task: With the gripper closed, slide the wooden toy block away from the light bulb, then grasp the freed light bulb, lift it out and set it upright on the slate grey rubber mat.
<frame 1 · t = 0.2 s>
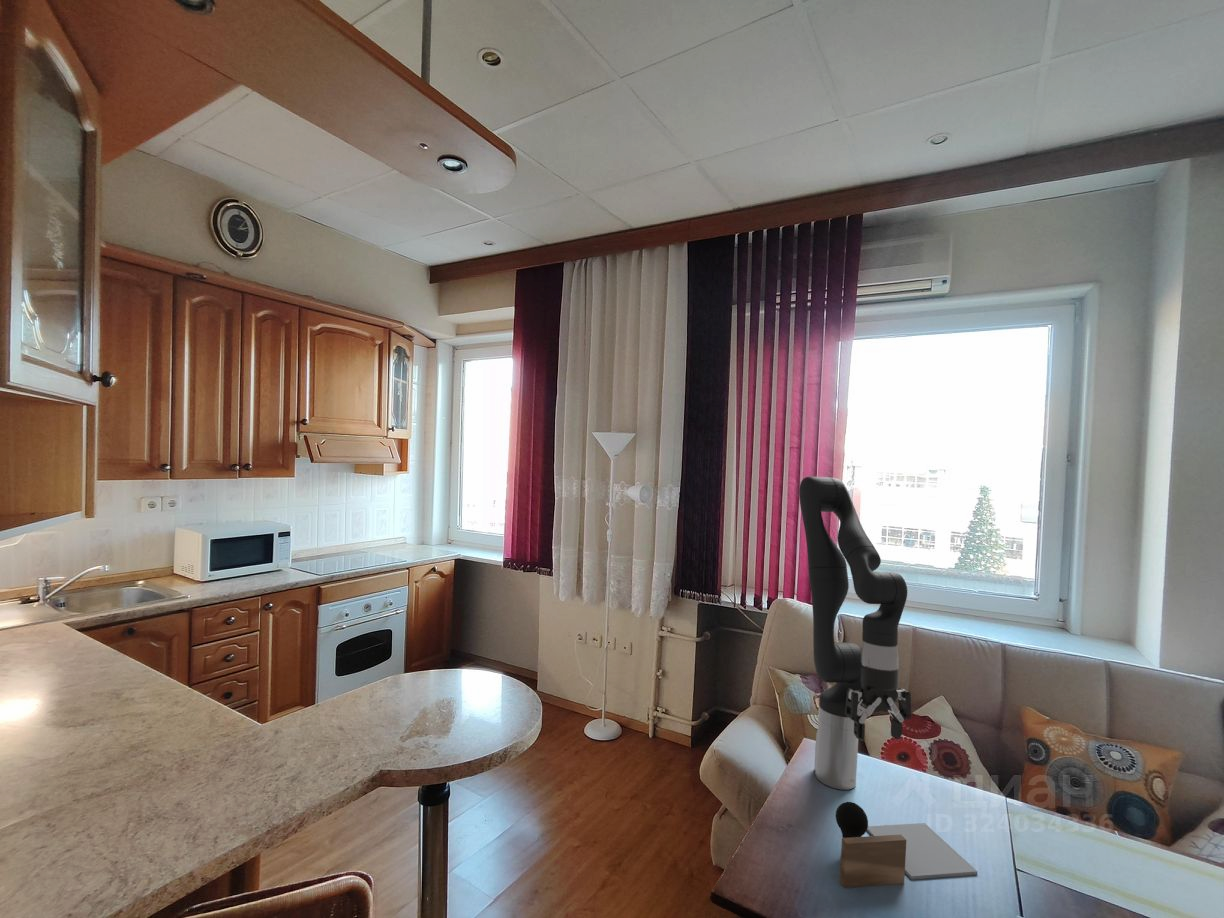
hand: (877, 738, 121), 17 cm above the table, tool pointing down, fingers open, 8 cm apart
light bulb: (849, 856, 109), on the table
rubber mat: (918, 850, 111), on the table
wooden toy block: (873, 860, 102), point 4 cm above the table, slide at 0.0 cm
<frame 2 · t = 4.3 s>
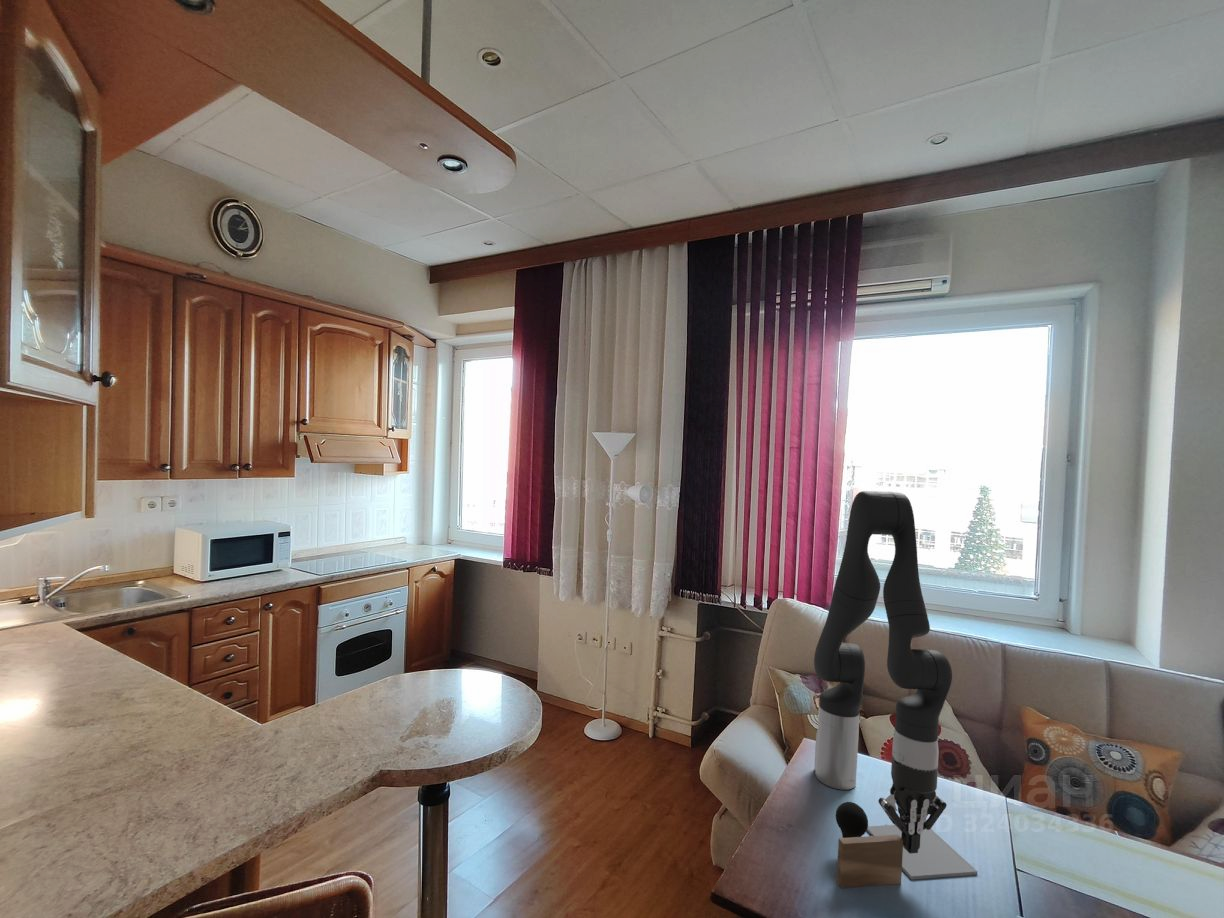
hand: (910, 850, 103), 6 cm above the table, tool pointing down, fingers closed
wooden toy block: (869, 860, 102), point 4 cm above the table, slide at 0.7 cm, touching gripper
everything else where it was.
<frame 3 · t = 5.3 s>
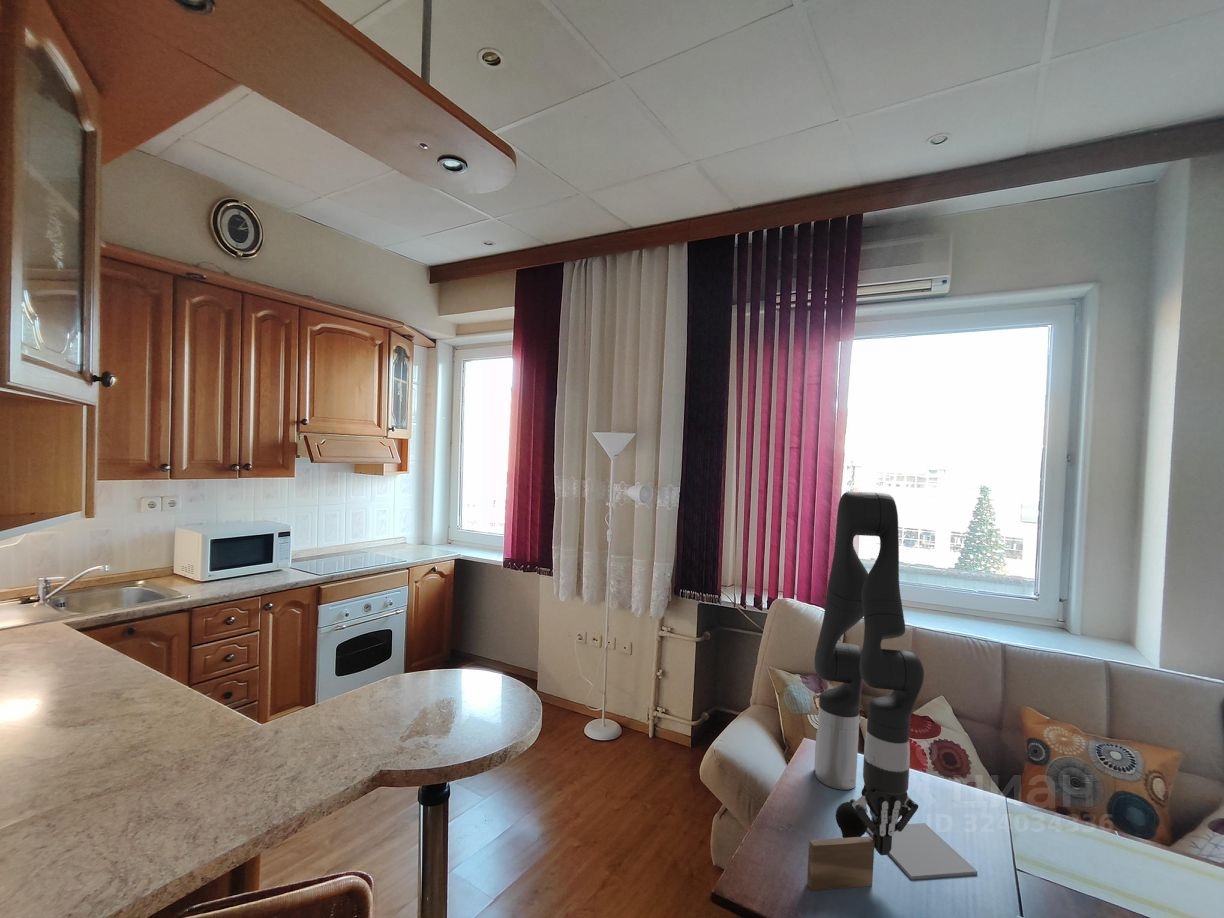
hand: (881, 852, 102), 6 cm above the table, tool pointing down, fingers closed
wooden toy block: (840, 862, 101), point 4 cm above the table, slide at 6.5 cm, touching gripper
everything else where it was.
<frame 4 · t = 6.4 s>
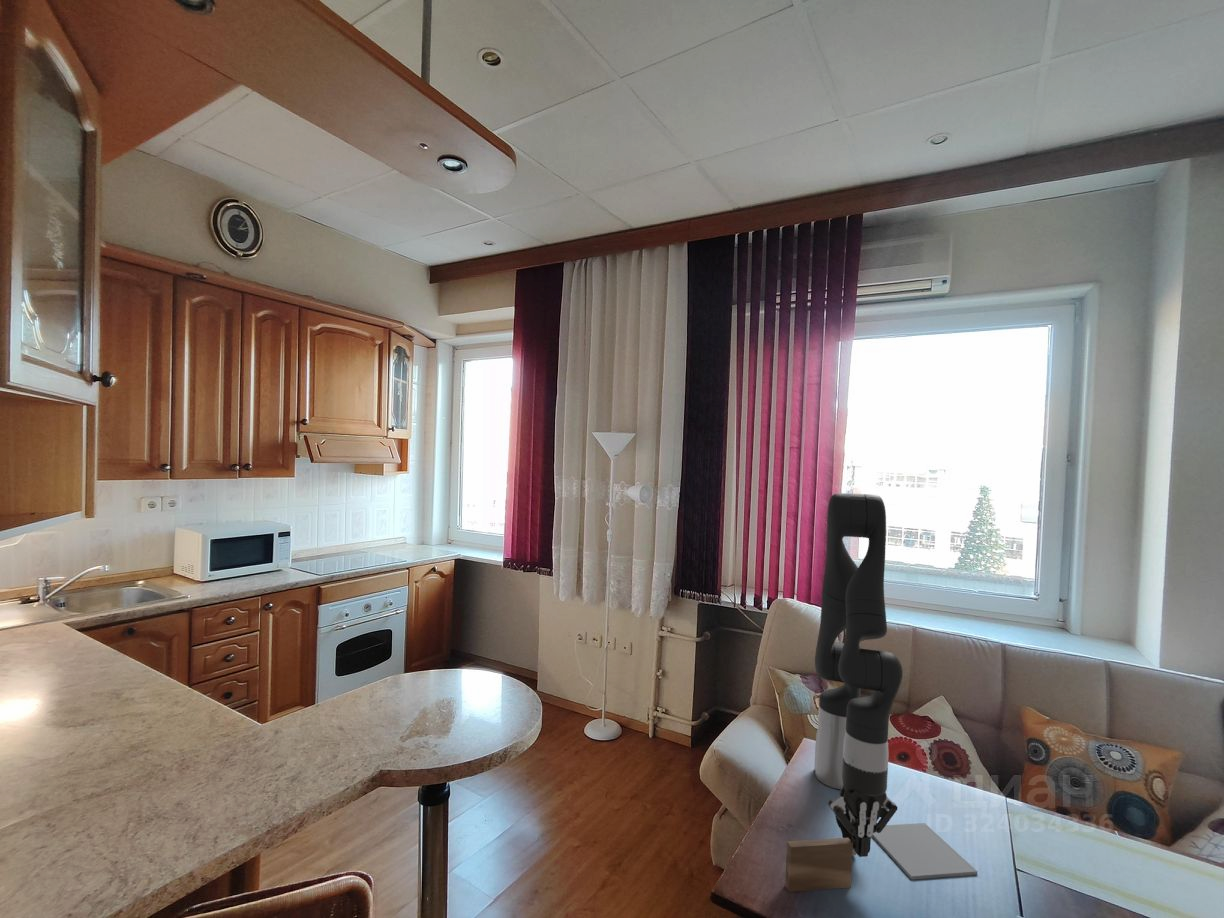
hand: (860, 853, 101), 6 cm above the table, tool pointing down, fingers closed
wooden toy block: (819, 864, 100), point 4 cm above the table, slide at 10.8 cm, touching gripper
everything else where it was.
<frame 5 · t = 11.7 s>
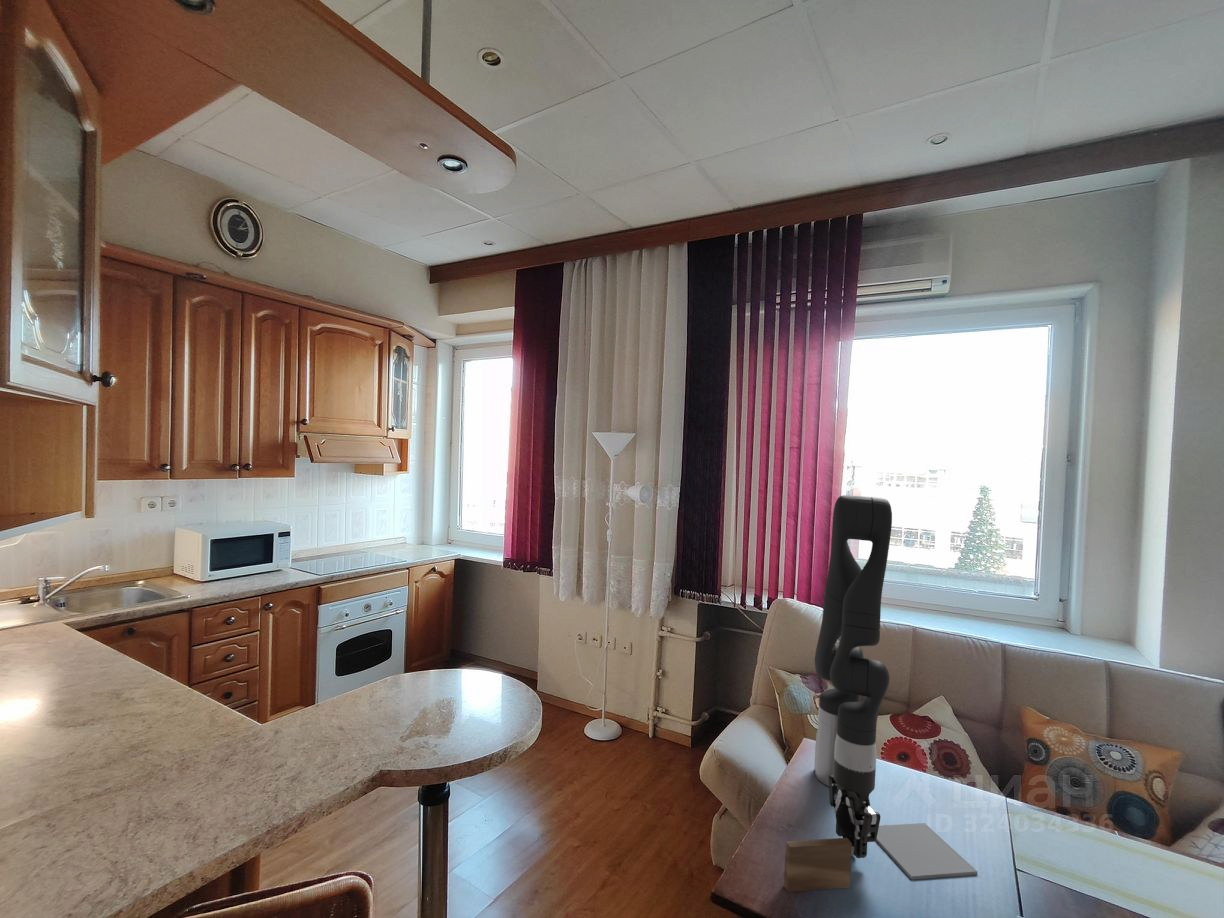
hand: (850, 845, 109), 2 cm above the table, tool pointing down, fingers closed on light bulb, 5 cm apart
light bulb: (849, 856, 109), on the table, touching gripper
wooden toy block: (817, 864, 100), point 4 cm above the table, slide at 11.0 cm
when the fingers open (4 cm above the table, at t = 18.2 s): light bulb drops 1 cm, resting on rubber mat.
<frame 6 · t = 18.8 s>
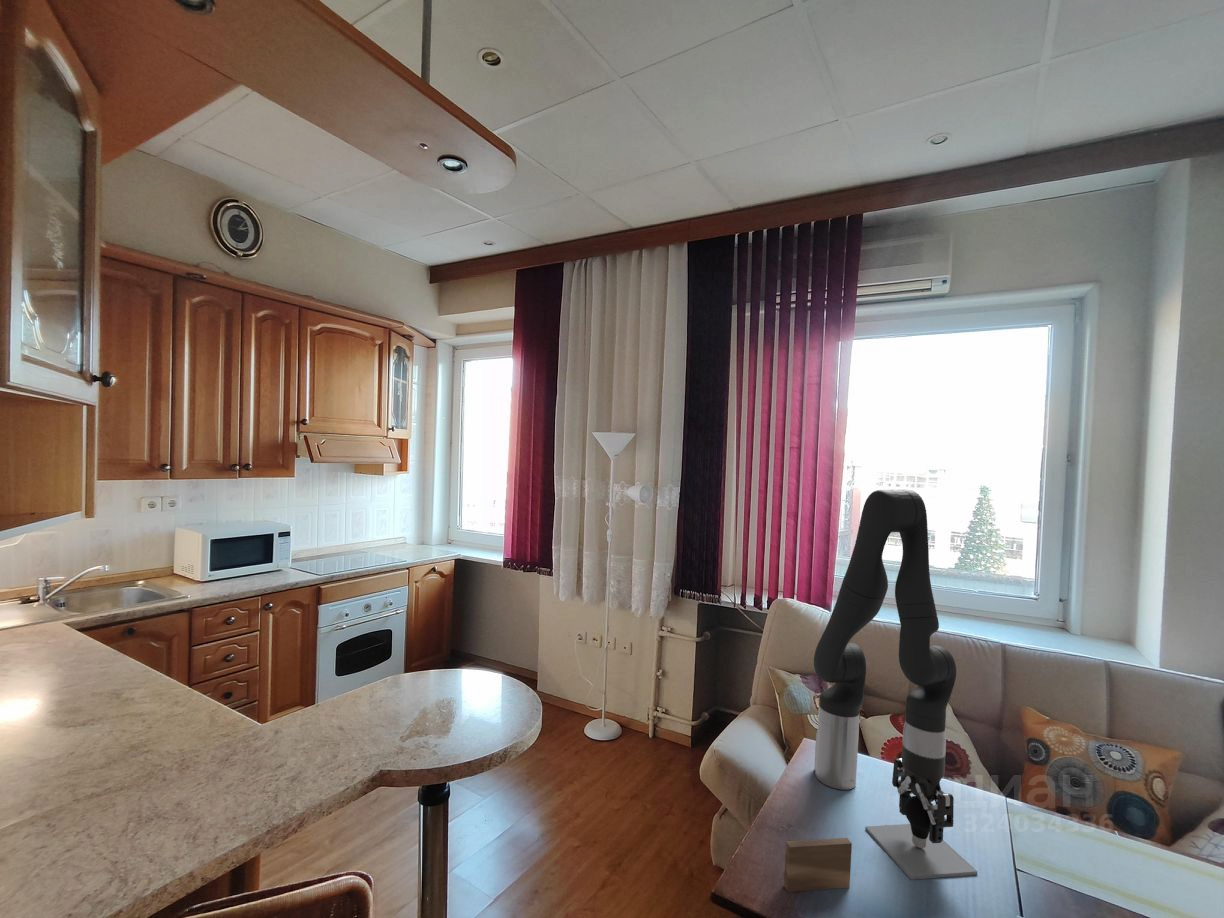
hand: (919, 827, 111), 5 cm above the table, tool pointing down, fingers open, 8 cm apart
light bulb: (918, 848, 111), resting on rubber mat
everything else where it was.
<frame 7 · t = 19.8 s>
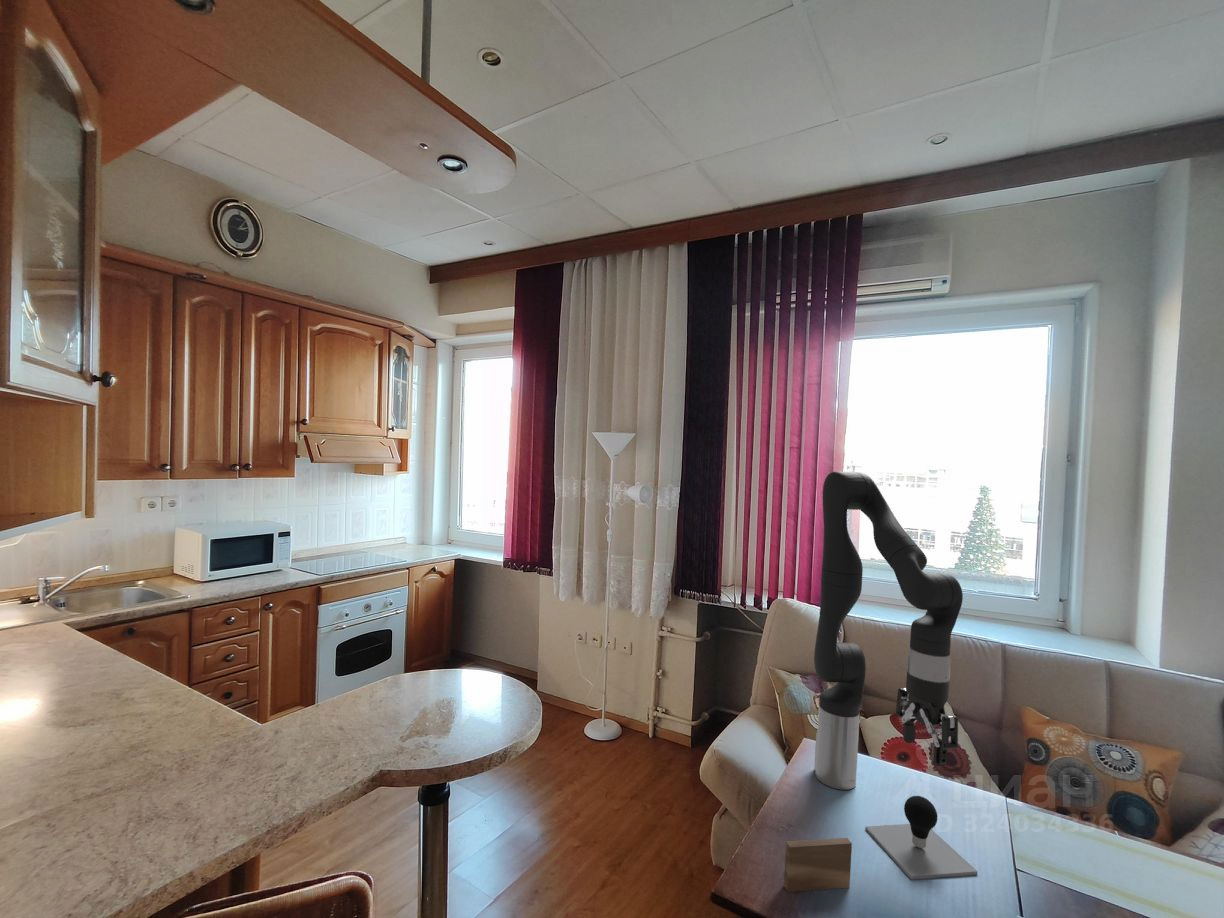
hand: (923, 753, 111), 20 cm above the table, tool pointing down, fingers open, 8 cm apart
nothing on the table moved.
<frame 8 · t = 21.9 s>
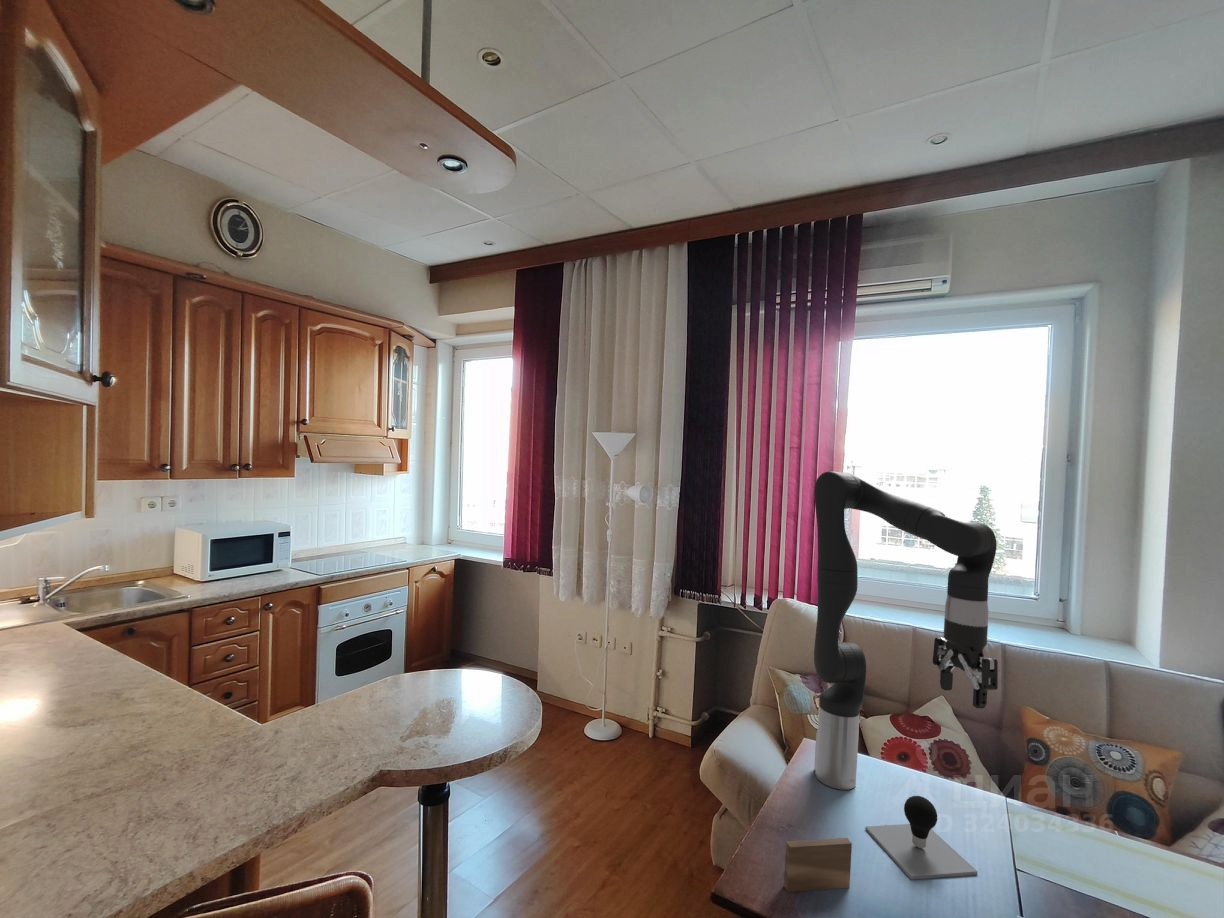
hand: (961, 698, 113), 30 cm above the table, tool pointing down, fingers open, 8 cm apart
nothing on the table moved.
at the end: wooden toy block slide at 11.0 cm; light bulb inside the target area (0.1 cm from its centre), resting on rubber mat; light bulb tilted 0° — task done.
